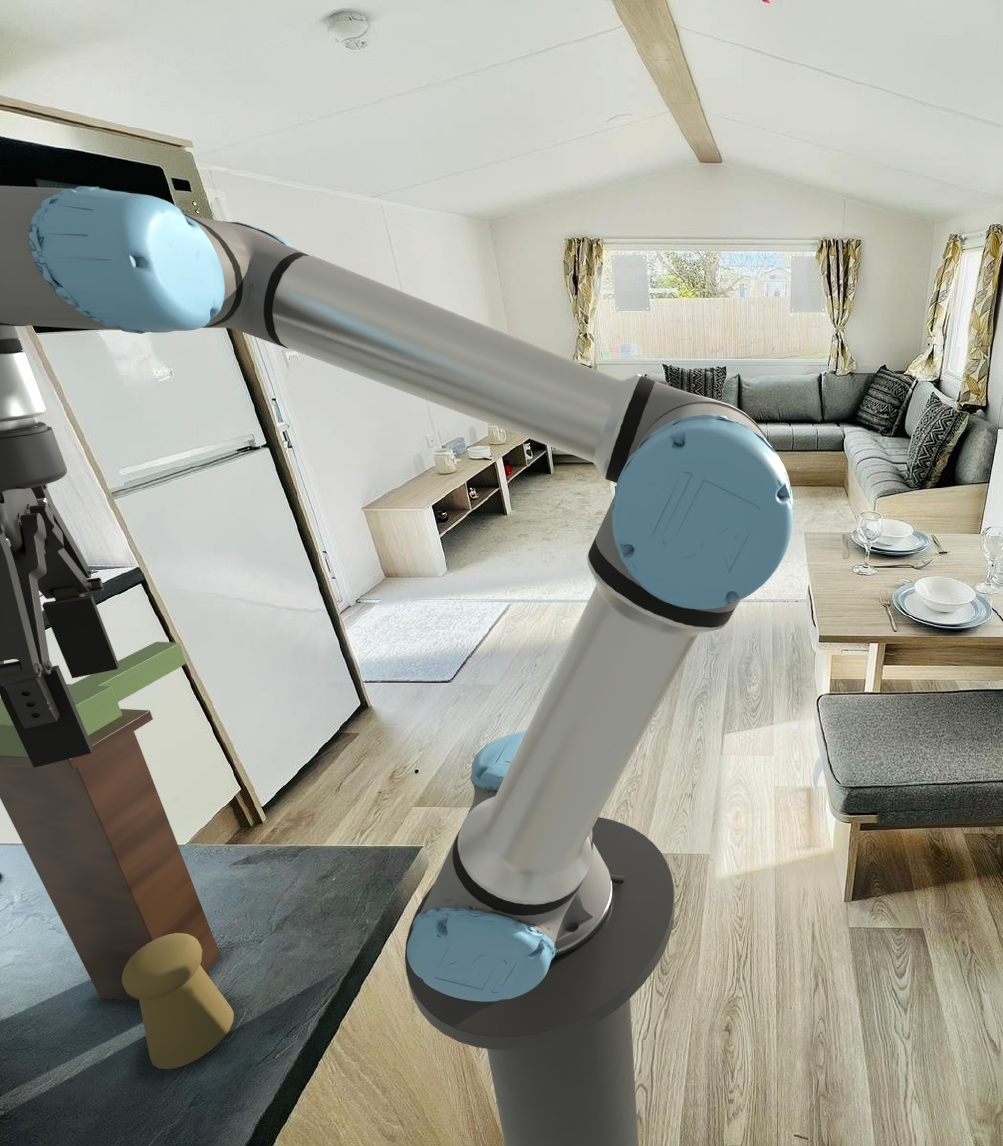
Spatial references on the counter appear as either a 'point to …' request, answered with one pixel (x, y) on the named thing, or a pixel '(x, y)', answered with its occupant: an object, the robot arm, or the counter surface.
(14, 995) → the counter surface
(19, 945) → the counter surface
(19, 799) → the shelf stand
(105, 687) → the paddle
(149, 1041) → the cork
